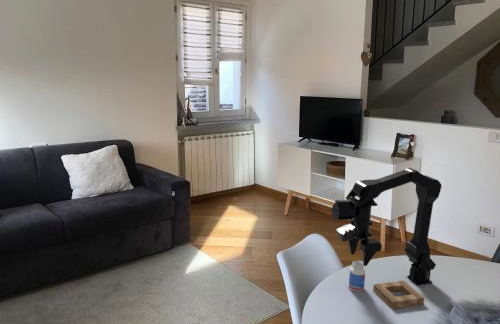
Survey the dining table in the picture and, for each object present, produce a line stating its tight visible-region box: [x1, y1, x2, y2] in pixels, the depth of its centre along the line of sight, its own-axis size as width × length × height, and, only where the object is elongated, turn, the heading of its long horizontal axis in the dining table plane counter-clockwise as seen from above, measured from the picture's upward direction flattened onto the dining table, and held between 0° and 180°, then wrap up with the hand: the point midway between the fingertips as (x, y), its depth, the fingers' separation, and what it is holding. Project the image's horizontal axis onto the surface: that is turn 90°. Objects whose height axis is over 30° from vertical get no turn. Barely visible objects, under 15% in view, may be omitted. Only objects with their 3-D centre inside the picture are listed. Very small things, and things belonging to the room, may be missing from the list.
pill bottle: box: [348, 260, 366, 293], centre depth 155 cm, size 6×5×10 cm
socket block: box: [372, 280, 425, 310], centre depth 150 cm, size 12×12×2 cm
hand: (358, 259), depth 153 cm, fingers open, 9 cm apart
